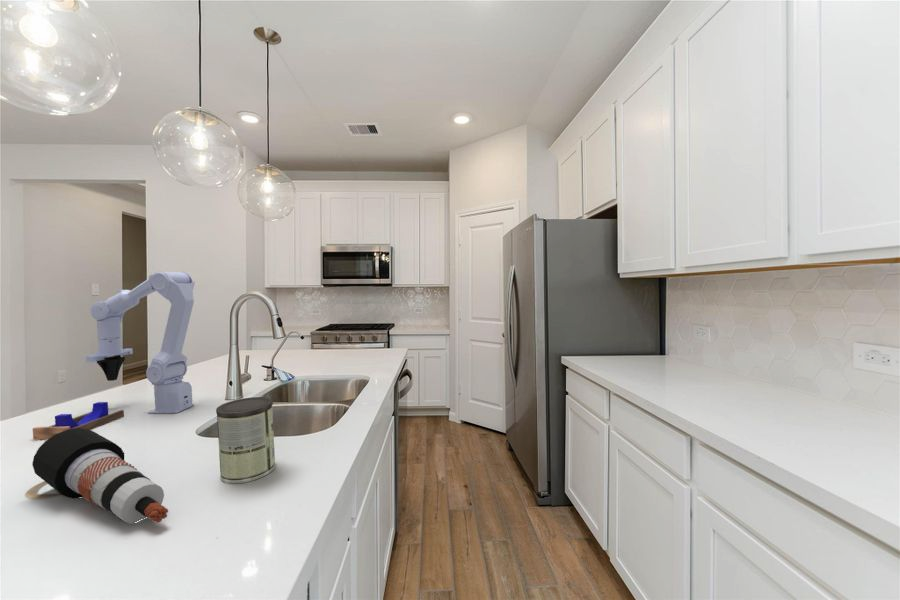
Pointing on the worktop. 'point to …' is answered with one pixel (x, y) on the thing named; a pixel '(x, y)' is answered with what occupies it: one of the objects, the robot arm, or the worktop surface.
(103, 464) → the cable
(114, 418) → the brown wooden piece
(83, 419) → the cable clip
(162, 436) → the worktop surface
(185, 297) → the robot arm
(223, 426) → the coffee can
